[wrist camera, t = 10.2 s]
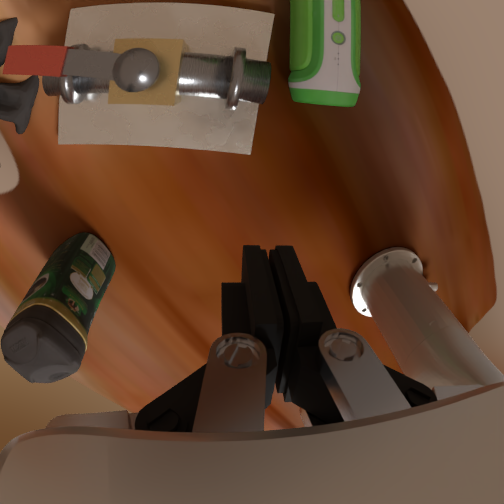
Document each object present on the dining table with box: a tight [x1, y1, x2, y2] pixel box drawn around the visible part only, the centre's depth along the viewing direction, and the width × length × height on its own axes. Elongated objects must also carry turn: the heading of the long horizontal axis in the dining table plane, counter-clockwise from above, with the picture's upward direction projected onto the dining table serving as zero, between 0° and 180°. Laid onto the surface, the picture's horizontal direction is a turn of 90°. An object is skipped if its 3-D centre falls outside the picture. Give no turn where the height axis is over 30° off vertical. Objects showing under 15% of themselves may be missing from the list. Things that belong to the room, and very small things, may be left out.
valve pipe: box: [42, 3, 275, 155], centre depth 25 cm, size 23×16×7 cm
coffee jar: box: [1, 232, 115, 383], centre depth 31 cm, size 10×8×19 cm
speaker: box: [288, 0, 361, 107], centre depth 24 cm, size 18×7×8 cm, turn 0°
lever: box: [3, 45, 161, 92], centre depth 19 cm, size 14×4×3 cm, turn 72°
